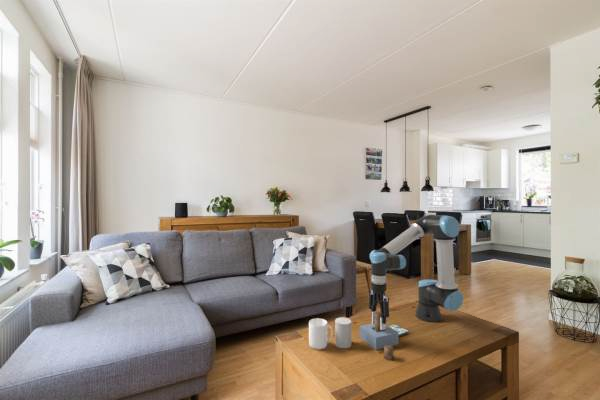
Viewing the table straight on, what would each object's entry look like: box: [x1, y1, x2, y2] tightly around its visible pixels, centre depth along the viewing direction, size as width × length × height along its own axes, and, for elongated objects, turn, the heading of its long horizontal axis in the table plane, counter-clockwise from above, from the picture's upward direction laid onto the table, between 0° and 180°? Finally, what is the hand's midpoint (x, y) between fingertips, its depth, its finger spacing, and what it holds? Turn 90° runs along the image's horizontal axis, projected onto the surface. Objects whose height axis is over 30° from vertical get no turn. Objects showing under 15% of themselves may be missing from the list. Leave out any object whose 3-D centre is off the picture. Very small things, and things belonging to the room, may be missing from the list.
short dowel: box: [383, 345, 394, 361], centre depth 133 cm, size 4×4×5 cm
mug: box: [308, 317, 334, 351], centre depth 145 cm, size 10×12×12 cm
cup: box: [334, 316, 352, 349], centre depth 146 cm, size 8×8×12 cm
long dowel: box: [375, 311, 382, 332], centre depth 149 cm, size 4×4×14 cm
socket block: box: [359, 322, 400, 351], centre depth 149 cm, size 14×14×6 cm
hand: (378, 326), depth 149 cm, fingers open, 6 cm apart
